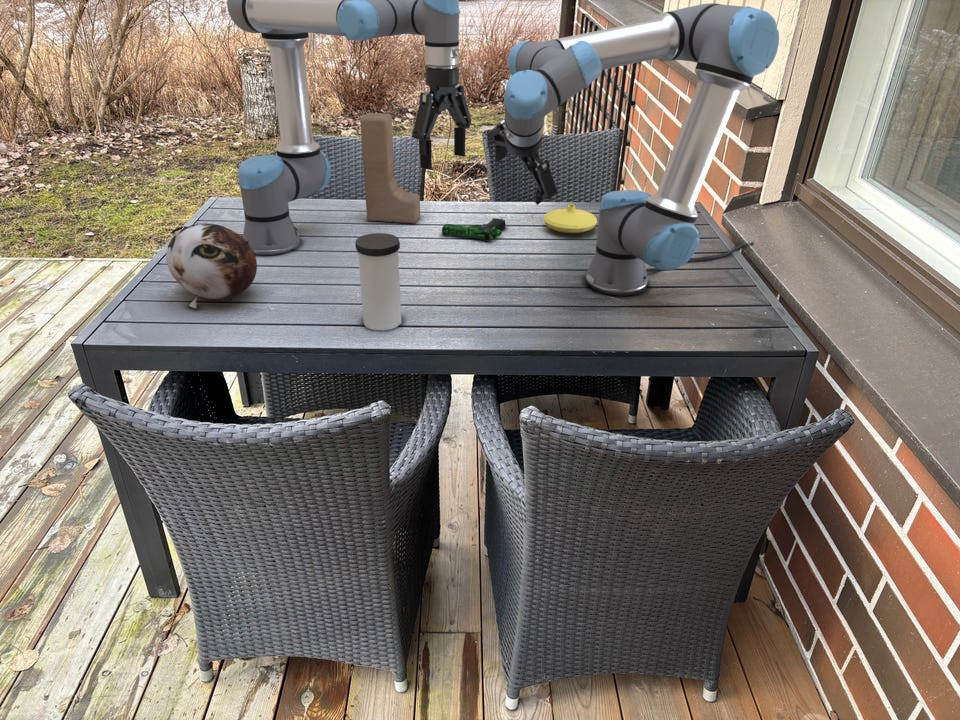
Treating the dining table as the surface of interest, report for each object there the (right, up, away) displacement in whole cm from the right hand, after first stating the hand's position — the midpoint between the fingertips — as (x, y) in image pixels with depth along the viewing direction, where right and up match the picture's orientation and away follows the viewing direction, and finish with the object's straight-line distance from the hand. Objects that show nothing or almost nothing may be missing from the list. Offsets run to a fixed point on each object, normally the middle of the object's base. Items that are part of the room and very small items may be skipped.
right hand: (520, 178), depth 161 cm
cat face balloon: (-71, -26, +8) cm, 76 cm away
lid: (-31, -16, -11) cm, 36 cm away
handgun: (-10, -4, +47) cm, 48 cm away
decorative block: (-35, +2, +56) cm, 66 cm away
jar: (-31, -32, -2) cm, 45 cm away
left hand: (-18, +6, +9) cm, 21 cm away
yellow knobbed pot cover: (+17, -2, +50) cm, 53 cm away
